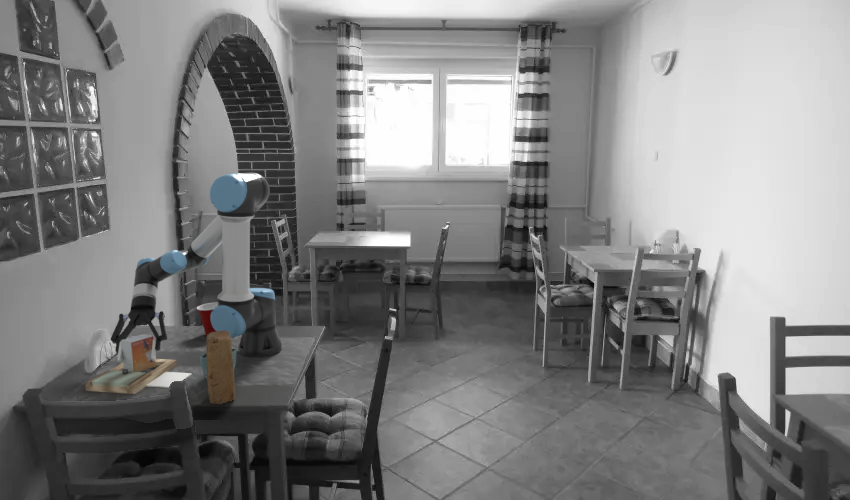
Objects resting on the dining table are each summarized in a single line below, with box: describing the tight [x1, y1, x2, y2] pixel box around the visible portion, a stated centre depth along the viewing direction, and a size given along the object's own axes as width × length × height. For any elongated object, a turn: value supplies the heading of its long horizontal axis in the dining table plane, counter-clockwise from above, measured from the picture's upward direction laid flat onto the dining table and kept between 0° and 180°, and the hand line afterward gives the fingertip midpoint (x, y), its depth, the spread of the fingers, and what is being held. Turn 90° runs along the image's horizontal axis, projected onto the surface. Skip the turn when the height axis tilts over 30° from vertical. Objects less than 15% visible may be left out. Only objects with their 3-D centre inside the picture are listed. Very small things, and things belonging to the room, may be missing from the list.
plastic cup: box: [196, 301, 218, 337], centre depth 228 cm, size 11×11×12 cm
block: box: [205, 331, 236, 405], centre depth 170 cm, size 11×8×20 cm
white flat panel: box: [145, 371, 193, 389], centre depth 184 cm, size 9×11×1 cm
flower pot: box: [199, 348, 238, 379], centre depth 184 cm, size 9×9×9 cm
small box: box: [121, 333, 156, 372], centre depth 189 cm, size 8×6×10 cm
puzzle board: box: [85, 358, 178, 395], centre depth 186 cm, size 16×23×4 cm
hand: (136, 360), depth 186 cm, fingers closed on small box, 9 cm apart
